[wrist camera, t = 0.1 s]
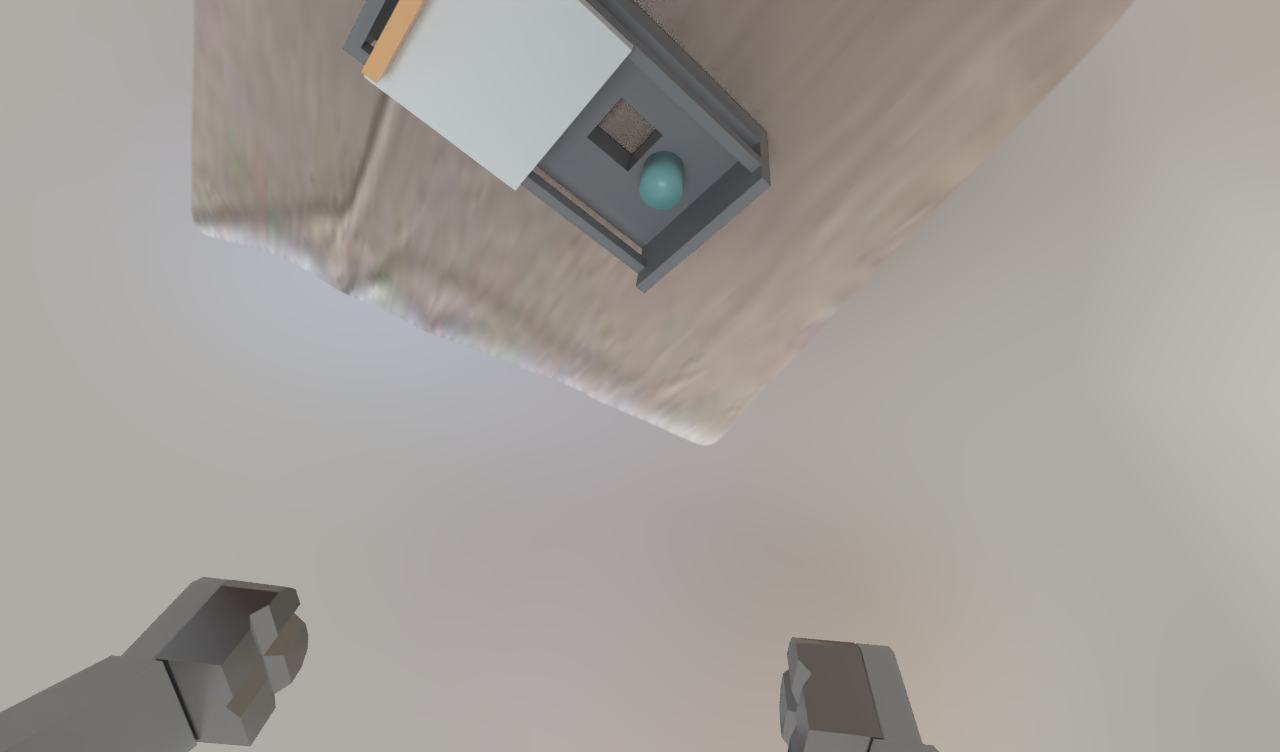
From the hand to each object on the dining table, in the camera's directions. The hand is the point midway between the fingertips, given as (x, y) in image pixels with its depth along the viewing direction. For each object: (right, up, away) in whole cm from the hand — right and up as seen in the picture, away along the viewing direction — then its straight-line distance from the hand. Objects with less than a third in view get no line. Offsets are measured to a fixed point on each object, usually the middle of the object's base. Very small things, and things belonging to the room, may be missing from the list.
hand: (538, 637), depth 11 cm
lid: (-9, +27, +37) cm, 47 cm away
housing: (-3, +29, +45) cm, 54 cm away
